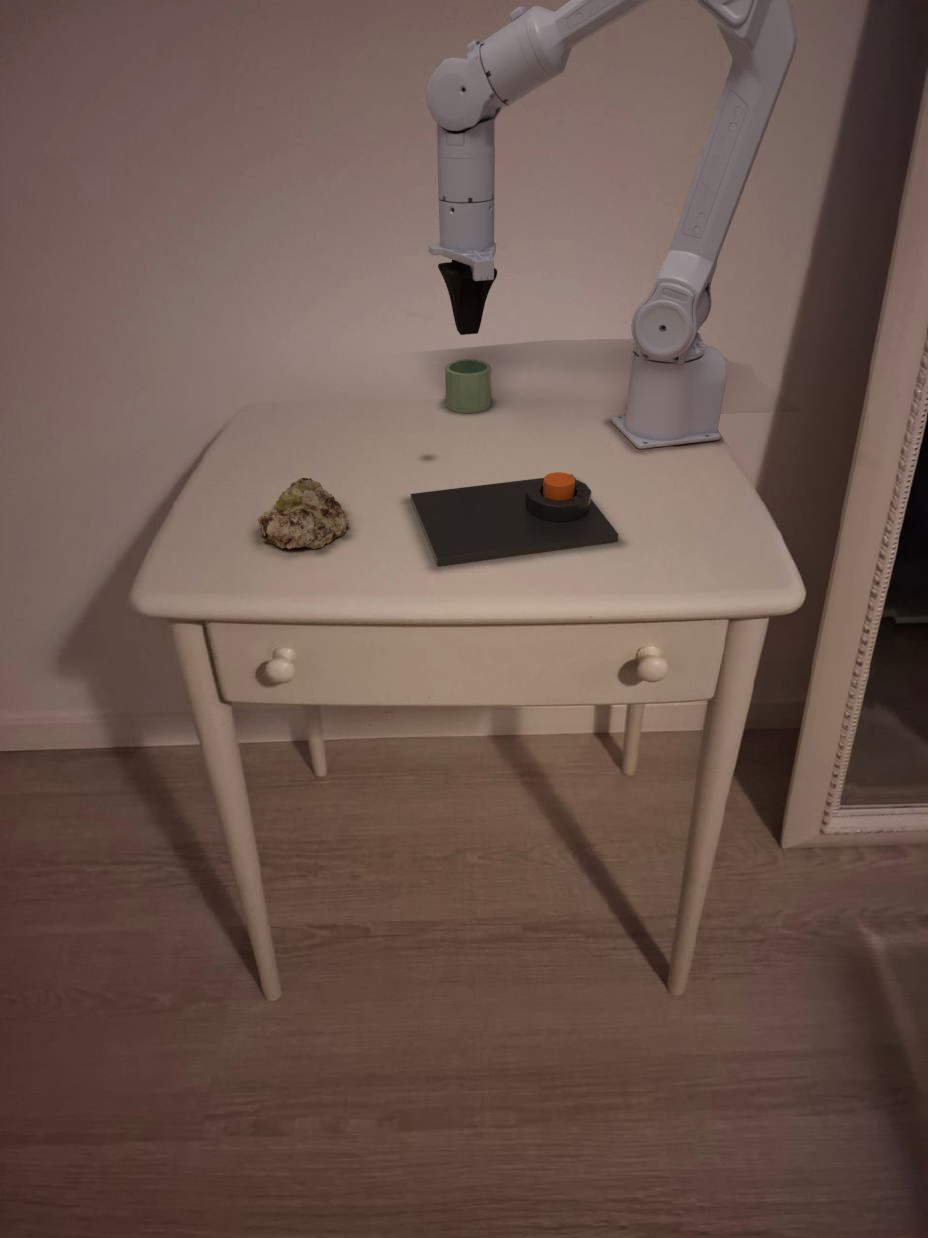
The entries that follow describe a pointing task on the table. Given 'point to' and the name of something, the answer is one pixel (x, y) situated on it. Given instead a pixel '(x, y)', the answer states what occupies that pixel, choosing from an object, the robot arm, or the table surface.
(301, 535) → the mineral rock
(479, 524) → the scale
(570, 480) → the power button
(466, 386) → the cup
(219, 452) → the table surface
